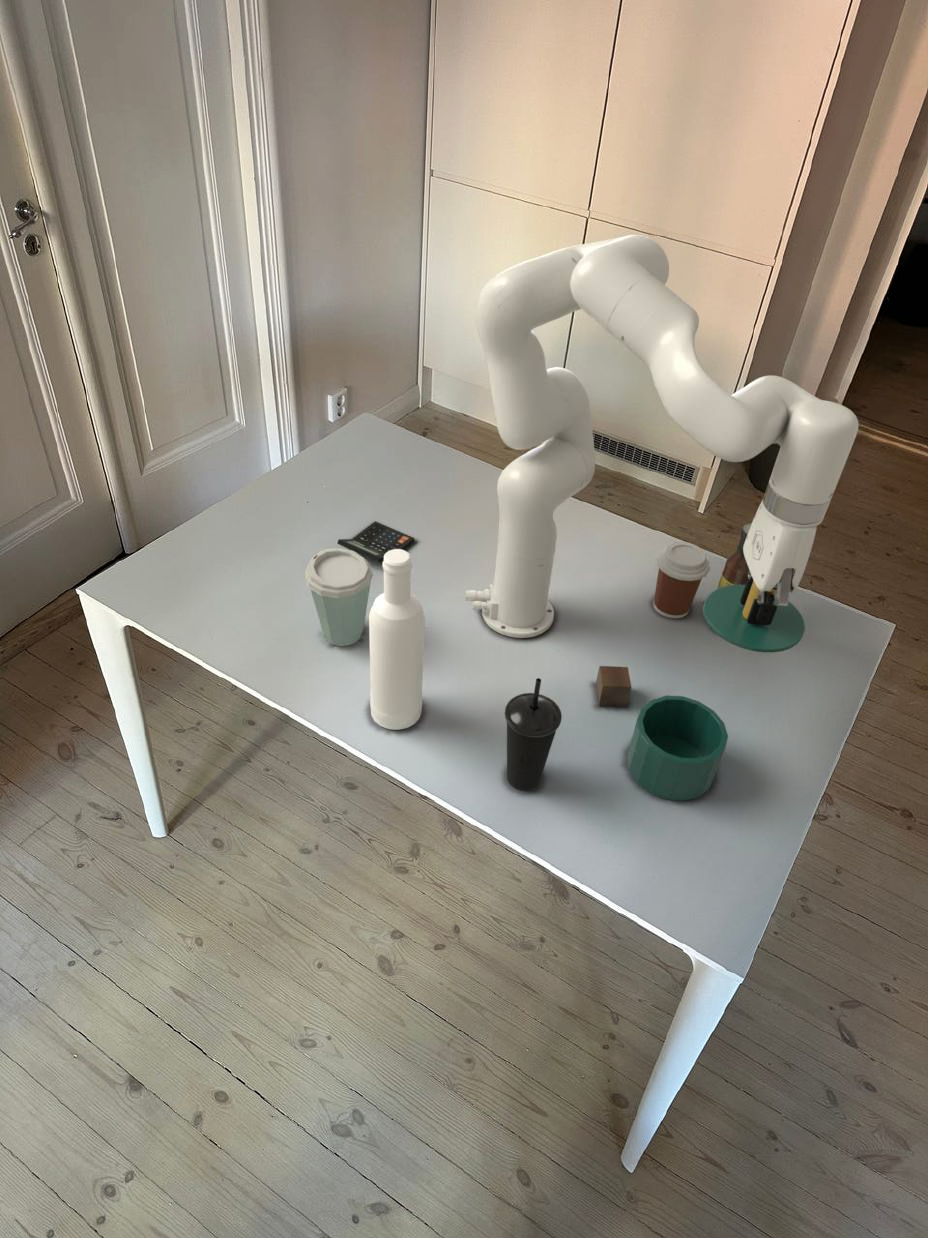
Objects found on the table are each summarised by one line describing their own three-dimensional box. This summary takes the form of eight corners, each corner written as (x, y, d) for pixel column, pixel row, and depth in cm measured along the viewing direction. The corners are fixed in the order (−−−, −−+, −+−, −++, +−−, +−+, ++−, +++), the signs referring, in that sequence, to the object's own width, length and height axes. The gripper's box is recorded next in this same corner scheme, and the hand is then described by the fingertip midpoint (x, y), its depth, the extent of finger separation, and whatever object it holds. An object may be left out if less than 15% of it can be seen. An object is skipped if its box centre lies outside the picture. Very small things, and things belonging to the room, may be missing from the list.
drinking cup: (494, 757, 129) (506, 659, 116) (545, 756, 130) (562, 659, 117) (499, 799, 123) (513, 702, 110) (553, 798, 124) (572, 700, 111)
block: (598, 706, 138) (603, 686, 135) (595, 685, 142) (599, 665, 139) (626, 707, 138) (631, 687, 135) (622, 686, 142) (627, 666, 139)
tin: (634, 799, 125) (645, 761, 119) (621, 732, 134) (631, 694, 129) (721, 802, 125) (736, 764, 120) (702, 735, 135) (716, 697, 129)
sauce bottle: (743, 638, 152) (777, 546, 139) (707, 632, 153) (737, 539, 140) (742, 614, 157) (774, 523, 144) (707, 608, 158) (736, 517, 145)
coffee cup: (699, 598, 160) (715, 545, 152) (692, 628, 154) (709, 574, 146) (650, 585, 162) (663, 532, 154) (641, 615, 156) (655, 561, 148)
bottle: (402, 739, 131) (404, 582, 111) (359, 716, 134) (354, 560, 114) (431, 706, 136) (439, 552, 116) (390, 685, 139) (390, 531, 119)
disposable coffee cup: (385, 626, 150) (384, 556, 140) (353, 665, 142) (350, 594, 132) (331, 607, 153) (327, 537, 143) (297, 644, 145) (290, 572, 135)
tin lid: (713, 653, 116) (725, 615, 111) (693, 588, 126) (704, 551, 121) (814, 658, 116) (831, 620, 112) (787, 593, 126) (801, 556, 122)
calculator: (414, 541, 168) (414, 528, 166) (377, 571, 161) (377, 558, 159) (375, 524, 172) (375, 512, 170) (337, 553, 164) (337, 540, 162)
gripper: (749, 464, 114) (715, 575, 126) (783, 538, 101) (741, 653, 114) (806, 467, 114) (766, 577, 126) (847, 542, 102) (798, 656, 114)
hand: (755, 612), depth 120 cm, fingers closed on tin lid, 3 cm apart
